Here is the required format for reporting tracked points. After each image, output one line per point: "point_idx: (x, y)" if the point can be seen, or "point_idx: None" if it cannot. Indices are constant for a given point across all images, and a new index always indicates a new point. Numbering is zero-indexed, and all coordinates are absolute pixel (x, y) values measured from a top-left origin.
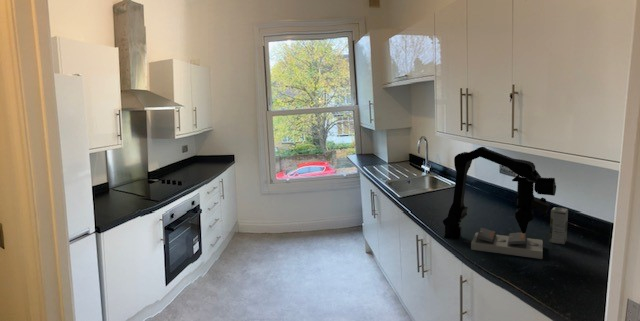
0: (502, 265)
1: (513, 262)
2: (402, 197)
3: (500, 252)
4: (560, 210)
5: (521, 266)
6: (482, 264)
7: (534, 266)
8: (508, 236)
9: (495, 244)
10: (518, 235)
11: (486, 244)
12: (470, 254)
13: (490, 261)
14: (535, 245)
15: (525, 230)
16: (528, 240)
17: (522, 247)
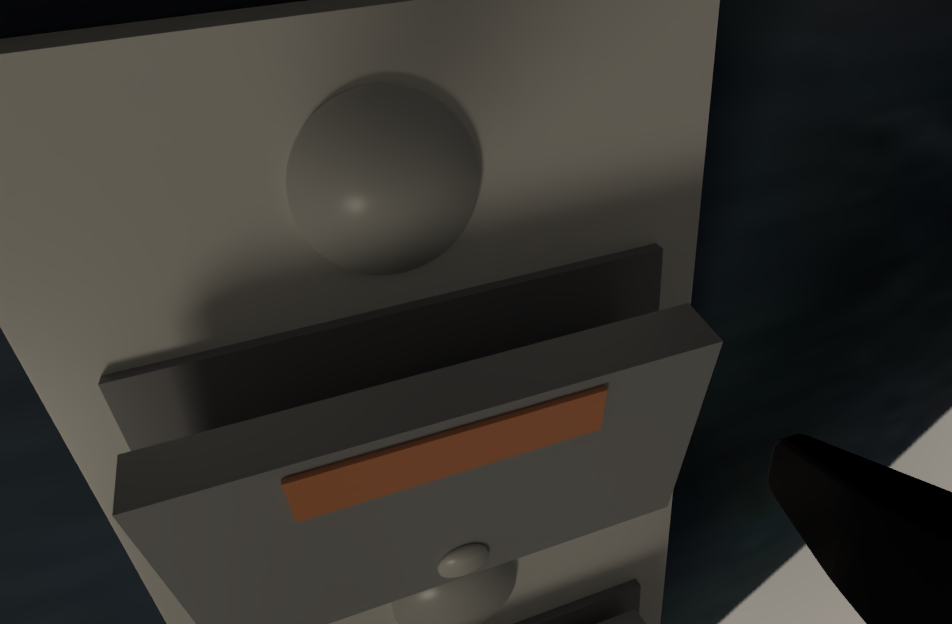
0: (910, 320)
1: (829, 264)
2: None
3: None
4: None
5: (918, 166)
6: (905, 441)
7: (906, 31)
8: None
9: (628, 564)
10: (381, 518)
11: (659, 613)
12: (726, 585)
13: (839, 425)
14: (462, 143)
15: (894, 482)
16: (185, 328)
17: (658, 298)
